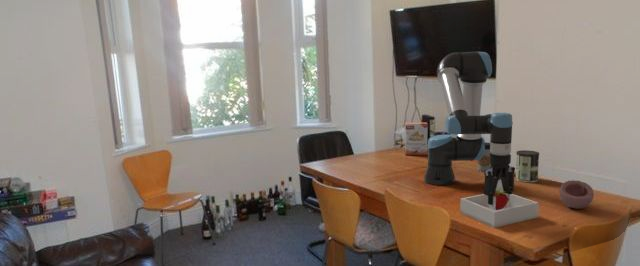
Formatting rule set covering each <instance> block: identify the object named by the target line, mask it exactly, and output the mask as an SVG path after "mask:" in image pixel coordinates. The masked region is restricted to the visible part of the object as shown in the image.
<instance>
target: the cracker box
mask: <svg viewBox="0 0 640 266" xmlns="http://www.w3.org/2000/svg"><path fill="white" fill-rule="evenodd" d="M404 126H405V129H404V130H405V135H404V137H405V139H404V144H405V145H404V146H405V147H404V149H405V150H404V155H405V156H428V128H429V123H428V122H405V125H404Z"/></svg>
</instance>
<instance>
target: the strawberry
mask: <svg viewBox="0 0 640 266" xmlns="http://www.w3.org/2000/svg"><path fill="white" fill-rule="evenodd" d="M500 189H501V188H500ZM504 192H506V191H501V192H500V191H498V190H497V191H495V195H494V197H496V206H495V209H496V210H501V209H503V208H504V207H505V206H506V204H507V202H508V197H507V195H506V193H504Z"/></svg>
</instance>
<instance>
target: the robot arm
mask: <svg viewBox="0 0 640 266" xmlns="http://www.w3.org/2000/svg"><path fill="white" fill-rule="evenodd" d="M492 73H493V64H492V60H491V57H490V54H489V53H487V52H485V51H464V52H452V53H449V54H447V55H446V56H445V57H443V59H442V60H441V61H440V62H439V63H438V66H437V69H436V77H437V80H438V82H439V83H440V84H441V87H442V92H443V96H444V101H445V105H446V109H447V114H448V116H447V117H446V118H445V122H444V123H445V132H446V133H447V134H437V135H433V136H431V137H429V138H428V139H427V167H426V171H425V174H424V177H423V178H424V179H423V180H424V181H423V182H425V183H426V184H430V185H436V186H447V185H449V186H450V185H453V184H455V183H456V175H455V173H454V170H453V167H452V166H453V164H452V163H453V162H461V161H462V162H473V161H477V160H480V159H481V158H482V157H483V154H484V151H485V143H486V142H485V139H484V137H483V136H482V135H490V141H489V143H490V152H491V153H490V163H491V167H490V169H489V170H485V171H484V172H483V174H484V186H483V194H484V195H487V196H488V204H489V209H491V210H494V211H495V206H496V197H494V195H495V191H496V187H497V183H498V180H500V178H501V182H502V187H503V191H506V192H504V193H506V195H507V197H508V201H509V194H513V192H514V191H515V172H516V166H515V167H514V166H511V165H510V164H512V162H511V161H512V155H511V153H512V137H513V136H512V135H513V134H512V133H513V124H514V123H513V115H512V114H511V113H509V112H494V113H491V114H490V113H489V114H484V115H481V108H482V107H481V106H482V97H483V96H482V95H483V87H484V84H485V83H487V78H490V77H491V76H492ZM459 79H460V81H459ZM460 82H461V84H462V85H463V86H462V87H461V84H460ZM453 135H454V136H455V135H456V137H453ZM494 176H495V177H494ZM496 177H497V178H496ZM505 208H508V202H507V204H506V206H505V207H504V208H503V209H505Z"/></svg>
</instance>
